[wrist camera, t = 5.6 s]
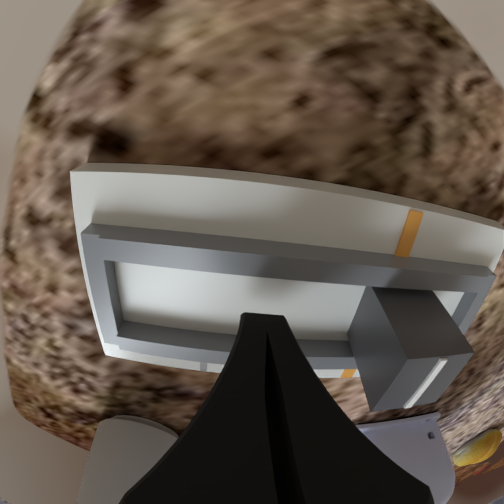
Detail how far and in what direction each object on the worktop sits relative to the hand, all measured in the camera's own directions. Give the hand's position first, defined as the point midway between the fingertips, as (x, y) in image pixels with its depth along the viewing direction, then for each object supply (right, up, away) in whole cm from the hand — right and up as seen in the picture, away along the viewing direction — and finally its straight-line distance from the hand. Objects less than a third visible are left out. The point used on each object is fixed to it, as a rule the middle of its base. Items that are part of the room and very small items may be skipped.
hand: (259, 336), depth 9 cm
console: (+2, +1, +3) cm, 4 cm away
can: (-9, -12, +10) cm, 18 cm away
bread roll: (+34, -26, +19) cm, 46 cm away
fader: (+5, 0, +2) cm, 6 cm away
